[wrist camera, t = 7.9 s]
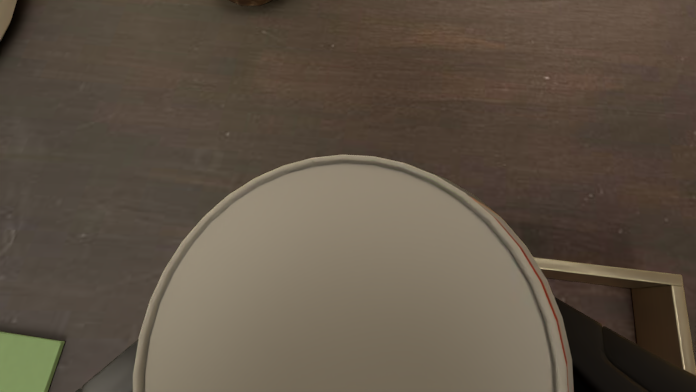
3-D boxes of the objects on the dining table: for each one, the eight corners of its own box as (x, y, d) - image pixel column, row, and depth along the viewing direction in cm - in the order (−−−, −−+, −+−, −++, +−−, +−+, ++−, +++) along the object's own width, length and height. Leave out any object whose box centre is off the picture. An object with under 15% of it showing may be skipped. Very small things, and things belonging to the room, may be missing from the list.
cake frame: (662, 476, 18) (717, 506, 16) (465, 444, 19) (483, 467, 16) (639, 279, 21) (682, 274, 19) (470, 258, 22) (486, 251, 19)
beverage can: (471, 403, 14) (979, 759, 3) (284, 427, 14) (-23, 916, 2) (440, 246, 16) (651, 69, 5) (277, 264, 16) (91, 127, 5)
